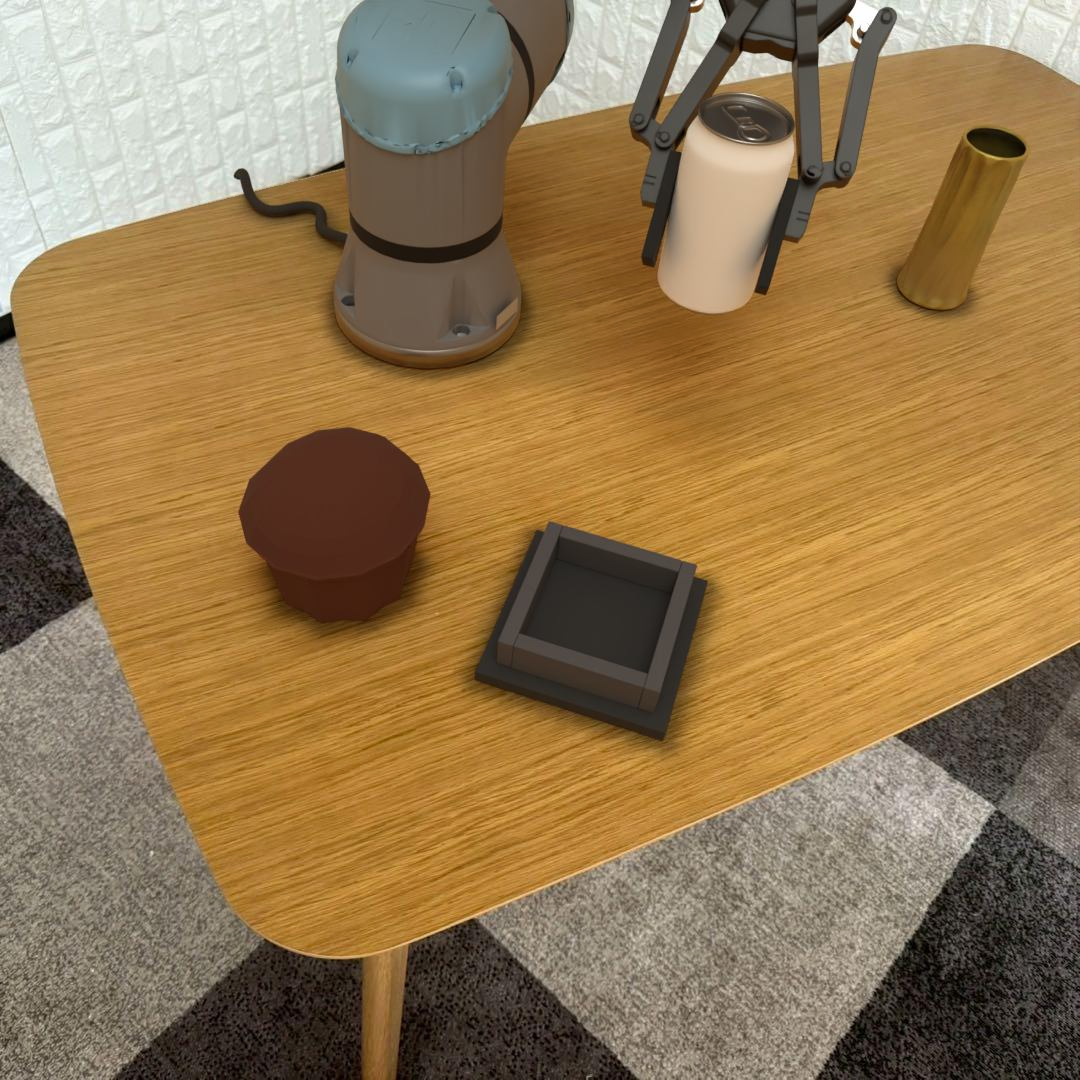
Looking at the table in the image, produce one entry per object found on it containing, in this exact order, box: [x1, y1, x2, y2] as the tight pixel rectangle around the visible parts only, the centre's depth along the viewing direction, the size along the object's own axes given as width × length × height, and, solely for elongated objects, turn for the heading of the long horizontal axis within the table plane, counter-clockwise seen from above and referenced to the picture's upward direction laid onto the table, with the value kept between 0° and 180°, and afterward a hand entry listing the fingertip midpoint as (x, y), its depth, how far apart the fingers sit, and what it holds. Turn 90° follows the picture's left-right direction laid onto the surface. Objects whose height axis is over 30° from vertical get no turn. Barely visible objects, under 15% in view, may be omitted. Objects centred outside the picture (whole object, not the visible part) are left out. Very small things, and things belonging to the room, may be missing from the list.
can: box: [657, 91, 795, 316], centre depth 63 cm, size 6×6×12 cm
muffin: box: [237, 426, 432, 624], centre depth 63 cm, size 12×11×10 cm
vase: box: [896, 124, 1031, 311], centre depth 85 cm, size 6×6×14 cm
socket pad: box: [474, 520, 709, 741], centre depth 64 cm, size 12×12×4 cm
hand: (704, 275), depth 63 cm, fingers closed on can, 6 cm apart
